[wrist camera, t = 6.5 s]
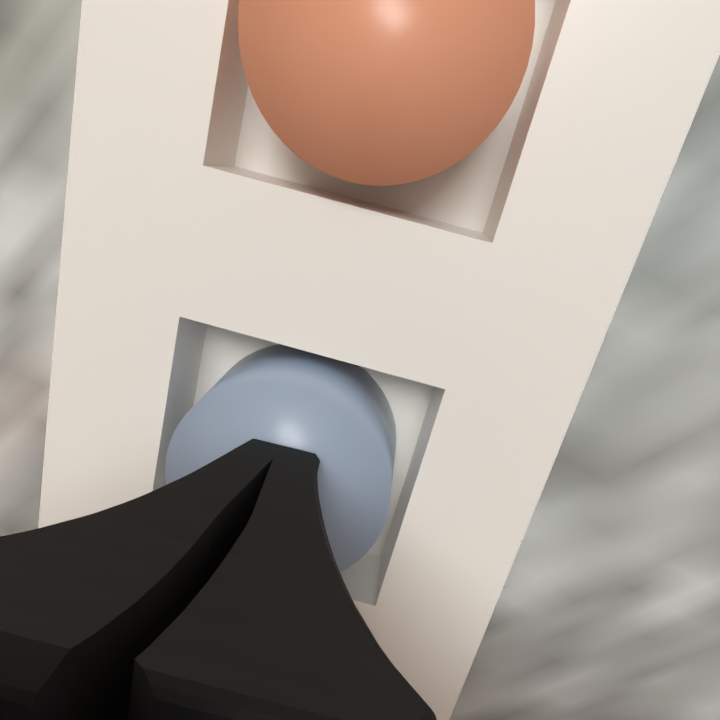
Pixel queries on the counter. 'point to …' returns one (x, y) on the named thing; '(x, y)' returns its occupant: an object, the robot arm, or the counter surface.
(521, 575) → the counter surface
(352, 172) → the terracotta button
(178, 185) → the button panel
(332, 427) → the blue button
